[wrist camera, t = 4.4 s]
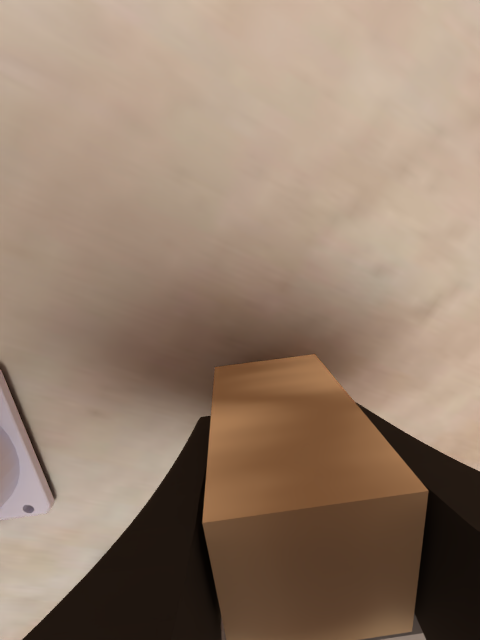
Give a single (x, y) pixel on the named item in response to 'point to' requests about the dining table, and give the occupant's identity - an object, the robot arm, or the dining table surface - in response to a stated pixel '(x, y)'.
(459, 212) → the dining table surface
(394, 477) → the block
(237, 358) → the dining table surface
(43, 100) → the dining table surface
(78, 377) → the dining table surface
